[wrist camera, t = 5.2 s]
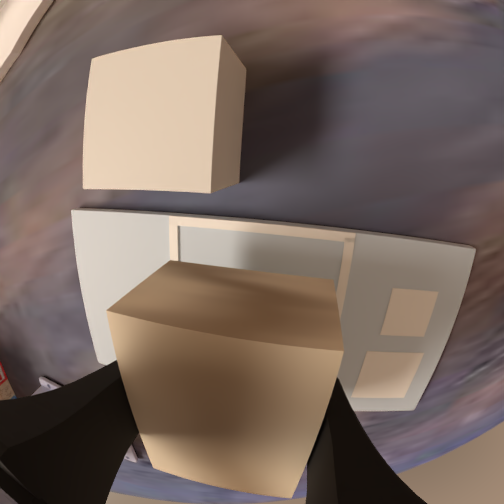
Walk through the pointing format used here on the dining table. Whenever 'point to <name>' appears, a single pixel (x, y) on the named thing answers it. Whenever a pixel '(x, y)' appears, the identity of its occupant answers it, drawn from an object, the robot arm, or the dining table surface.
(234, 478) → the birch block
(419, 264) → the board
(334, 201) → the dining table surface
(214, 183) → the beige maple block
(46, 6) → the white wedge on plate
